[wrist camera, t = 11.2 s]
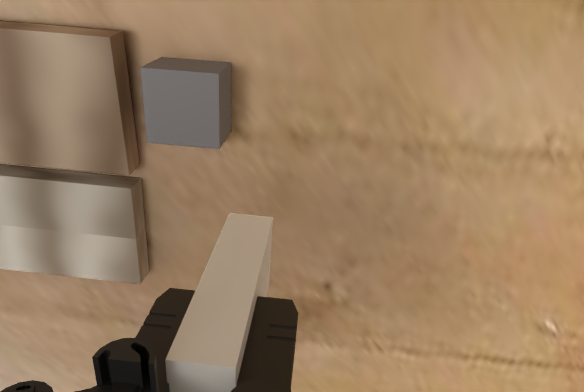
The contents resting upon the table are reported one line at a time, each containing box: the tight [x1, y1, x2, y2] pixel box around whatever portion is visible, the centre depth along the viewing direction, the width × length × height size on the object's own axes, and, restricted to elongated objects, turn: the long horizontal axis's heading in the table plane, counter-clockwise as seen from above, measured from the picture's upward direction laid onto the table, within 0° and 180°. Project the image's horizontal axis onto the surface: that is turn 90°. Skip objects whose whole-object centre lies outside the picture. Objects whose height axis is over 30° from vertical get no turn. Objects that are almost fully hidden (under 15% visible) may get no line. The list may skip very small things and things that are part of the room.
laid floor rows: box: [0, 164, 149, 284], centre depth 38 cm, size 16×9×2 cm, turn 86°
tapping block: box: [140, 57, 231, 149], centre depth 32 cm, size 5×5×4 cm
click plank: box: [0, 21, 139, 175], centre depth 33 cm, size 16×10×2 cm, turn 86°
